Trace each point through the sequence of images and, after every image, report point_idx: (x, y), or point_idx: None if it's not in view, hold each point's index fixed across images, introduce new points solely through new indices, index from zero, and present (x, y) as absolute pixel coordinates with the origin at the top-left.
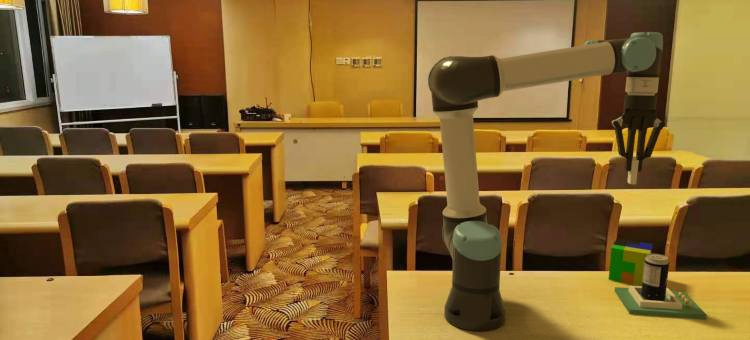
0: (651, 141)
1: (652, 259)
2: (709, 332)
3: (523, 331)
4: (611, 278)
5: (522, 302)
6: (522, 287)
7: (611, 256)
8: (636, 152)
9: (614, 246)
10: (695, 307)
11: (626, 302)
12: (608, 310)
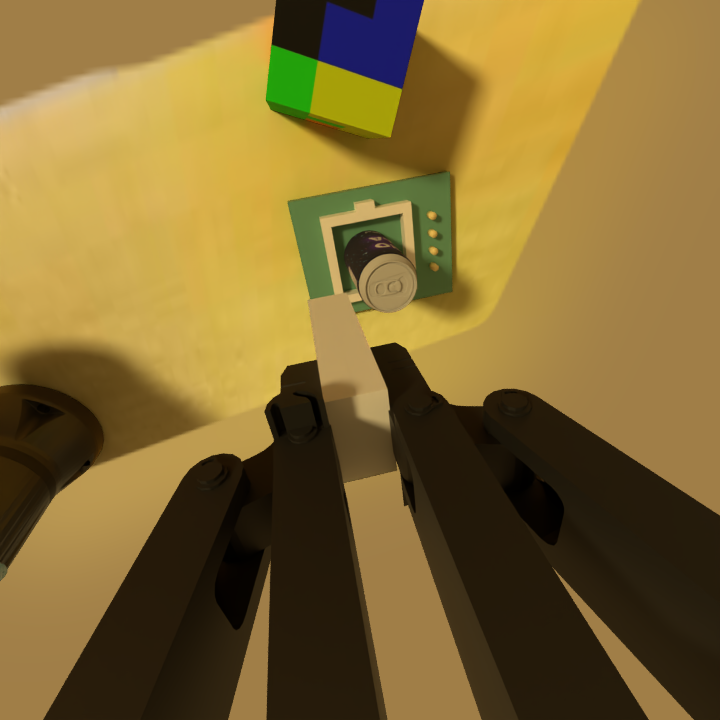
0: (646, 665)
1: (374, 308)
2: (435, 338)
3: (145, 441)
4: (278, 111)
5: (96, 341)
6: (57, 258)
7: (270, 103)
8: (407, 448)
9: (276, 74)
10: (443, 264)
11: (310, 288)
12: (275, 315)
